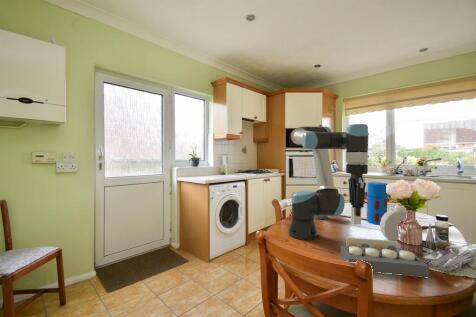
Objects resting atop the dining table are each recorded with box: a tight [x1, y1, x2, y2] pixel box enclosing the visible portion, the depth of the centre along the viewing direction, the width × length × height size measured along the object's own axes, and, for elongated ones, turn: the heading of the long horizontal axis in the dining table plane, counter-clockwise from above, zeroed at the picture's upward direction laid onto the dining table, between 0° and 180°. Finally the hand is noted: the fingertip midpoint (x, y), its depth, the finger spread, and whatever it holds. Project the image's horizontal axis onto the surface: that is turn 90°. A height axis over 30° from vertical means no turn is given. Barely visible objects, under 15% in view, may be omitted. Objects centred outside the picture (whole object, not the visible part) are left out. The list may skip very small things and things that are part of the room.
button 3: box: [382, 249, 397, 259], centre depth 84 cm, size 5×5×3 cm
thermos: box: [366, 181, 388, 226], centre depth 138 cm, size 11×11×25 cm
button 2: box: [365, 248, 379, 257], centre depth 86 cm, size 5×5×3 cm
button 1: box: [349, 246, 362, 256], centre depth 87 cm, size 5×5×3 cm
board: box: [340, 245, 430, 278], centre depth 85 cm, size 26×12×4 cm, turn 78°
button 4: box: [399, 249, 415, 261], centre depth 83 cm, size 5×5×3 cm
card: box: [345, 236, 399, 250], centre depth 94 cm, size 20×1×7 cm, turn 78°
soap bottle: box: [379, 202, 419, 241], centre depth 112 cm, size 16×5×20 cm, turn 80°
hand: (355, 222), depth 87 cm, fingers closed
